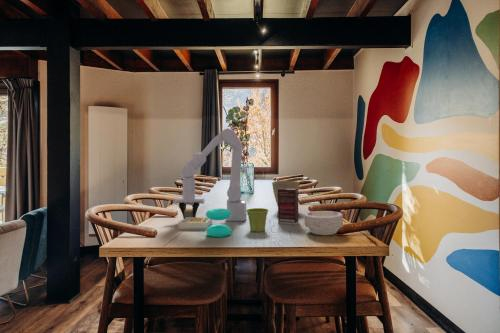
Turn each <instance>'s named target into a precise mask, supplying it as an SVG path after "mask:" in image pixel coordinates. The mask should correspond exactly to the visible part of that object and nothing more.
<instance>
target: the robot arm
mask: <svg viewBox="0 0 500 333" xmlns="http://www.w3.org/2000/svg"><path fill="white" fill-rule="evenodd" d="M223 143H225V144H227V145H228V146H229V147H230V148H231V149H232V153H231V154H232V155H231V163H230V164H231V166H230V180H229V187H228V189H227V192H226V196H227V197H228V199H227V200H226V209H228V210H230V212H231V215H230V217H229V218H227V219H225V222H245V221H246V220H247V216H248V214H247V212H246V210H247V202H246V201H242V200H243V199H242V192H241V170H242V158H243V157H242V156H243V143H242V142H241V140H240V138H239V137H238V134H237V132H235V131H234V130H233V129H232V128H224V129H222V131H221V132H219V134H216V136H214V137H213V139H212V140H210V142H209V143H208V144H207V146H205V147H204V149H203V150H202V151H201V152H196V153H194V154H193V155H192V157H191V159H190V160H189V161H187V162H186V164H185V165H184V166H183V167H182V169H181V173H182V198H175V199H173V204H174V205H175V204H178V207H179V209H180V212H181V214H182V218H183V219H184V211H185V209H187V204H191V206H192V207H191V208H193V217H197V212H198V209H199V207H200V204H203V205H204V204H205V199H204V198H196V181H195V172H197V171H198V170H199V169H200V168H201V167H202V166H203V165H204V164H205V163H206V162H207V156H209V155H210V153H211V152H212V151H213V150H214V149H215V148H216V147H217V146H218V145H221V144H223ZM183 219H182V220H183Z"/></svg>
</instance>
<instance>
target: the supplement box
mask: <svg viewBox="0 0 500 333" xmlns="http://www.w3.org/2000/svg"><path fill="white" fill-rule="evenodd" d="M277 216H278V217H277V220H278V224H282V225H298V224H299V220H300V219H299V190H298V189H286V188H280V189H278V206H277Z"/></svg>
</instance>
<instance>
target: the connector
mask: <svg viewBox="0 0 500 333" xmlns="http://www.w3.org/2000/svg"><path fill="white" fill-rule="evenodd" d="M186 217H193V208H192V207H191V208H190V207H189V208H187V207H186V209H185V211H184V219H185V218H186Z"/></svg>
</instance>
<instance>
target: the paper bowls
mask: <svg viewBox="0 0 500 333" xmlns="http://www.w3.org/2000/svg"><path fill="white" fill-rule="evenodd" d="M343 219H344V216H343V213H342V212H338V211H333V210H316V211H309V212H306V213H304V226H305V227H307V228H308V229H309V231H310V233H312V234H314V235H318V236H333V235H335V234H337V233H338V231H339V229H340V228H343V226H344V220H343Z"/></svg>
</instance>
